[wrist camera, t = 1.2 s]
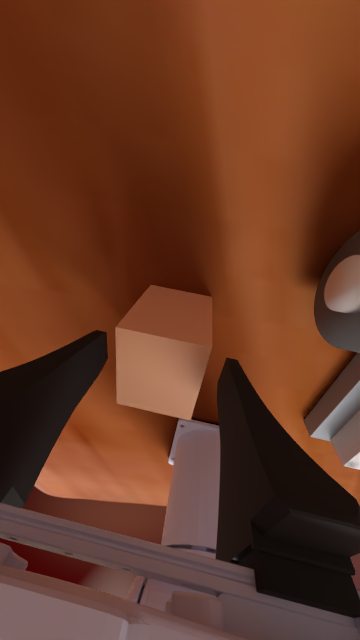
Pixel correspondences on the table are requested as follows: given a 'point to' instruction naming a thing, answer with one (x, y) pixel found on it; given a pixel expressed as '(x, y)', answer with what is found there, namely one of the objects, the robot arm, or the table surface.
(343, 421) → the chassis
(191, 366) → the tan rectangular block
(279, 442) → the robot arm
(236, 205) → the table surface
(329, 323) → the wheel
